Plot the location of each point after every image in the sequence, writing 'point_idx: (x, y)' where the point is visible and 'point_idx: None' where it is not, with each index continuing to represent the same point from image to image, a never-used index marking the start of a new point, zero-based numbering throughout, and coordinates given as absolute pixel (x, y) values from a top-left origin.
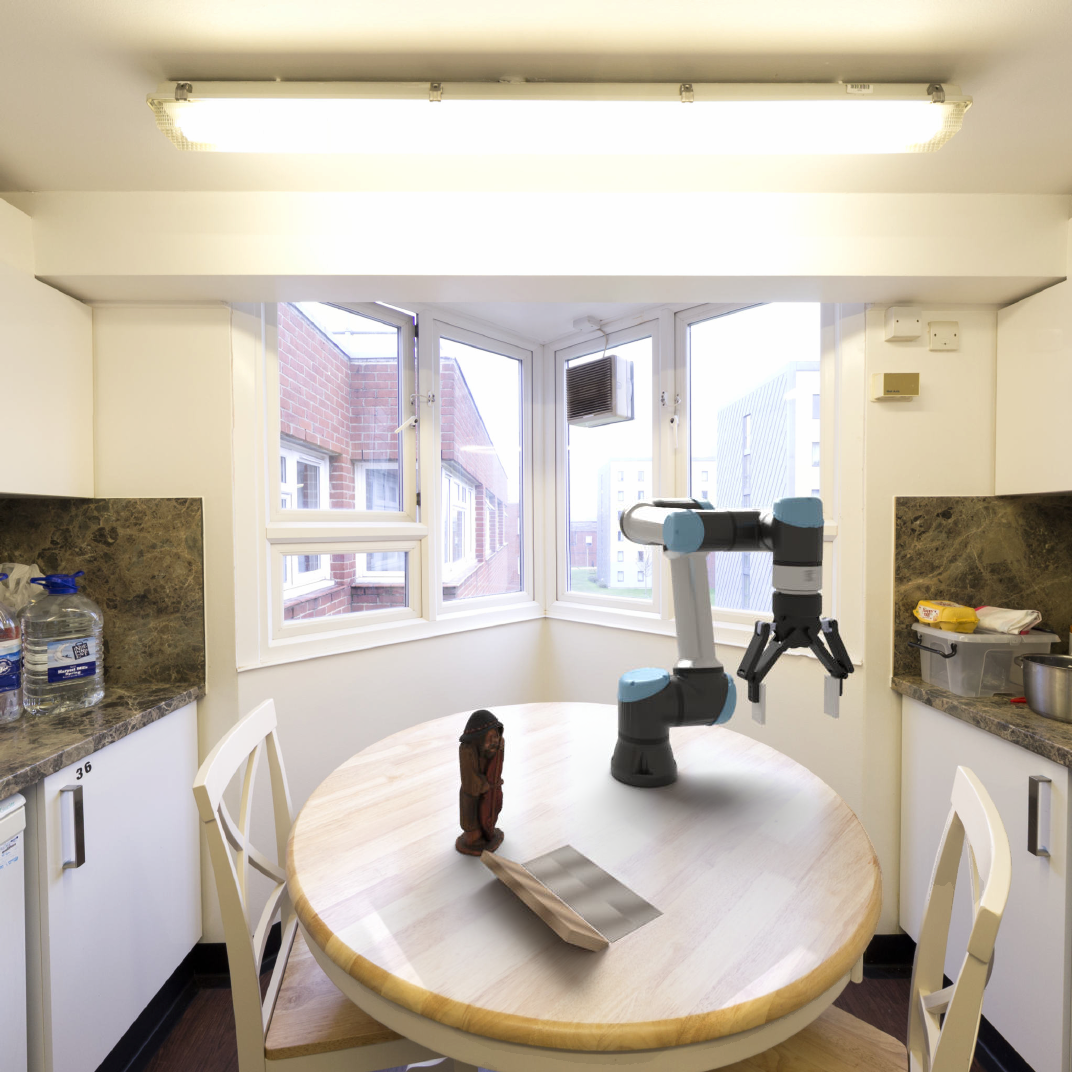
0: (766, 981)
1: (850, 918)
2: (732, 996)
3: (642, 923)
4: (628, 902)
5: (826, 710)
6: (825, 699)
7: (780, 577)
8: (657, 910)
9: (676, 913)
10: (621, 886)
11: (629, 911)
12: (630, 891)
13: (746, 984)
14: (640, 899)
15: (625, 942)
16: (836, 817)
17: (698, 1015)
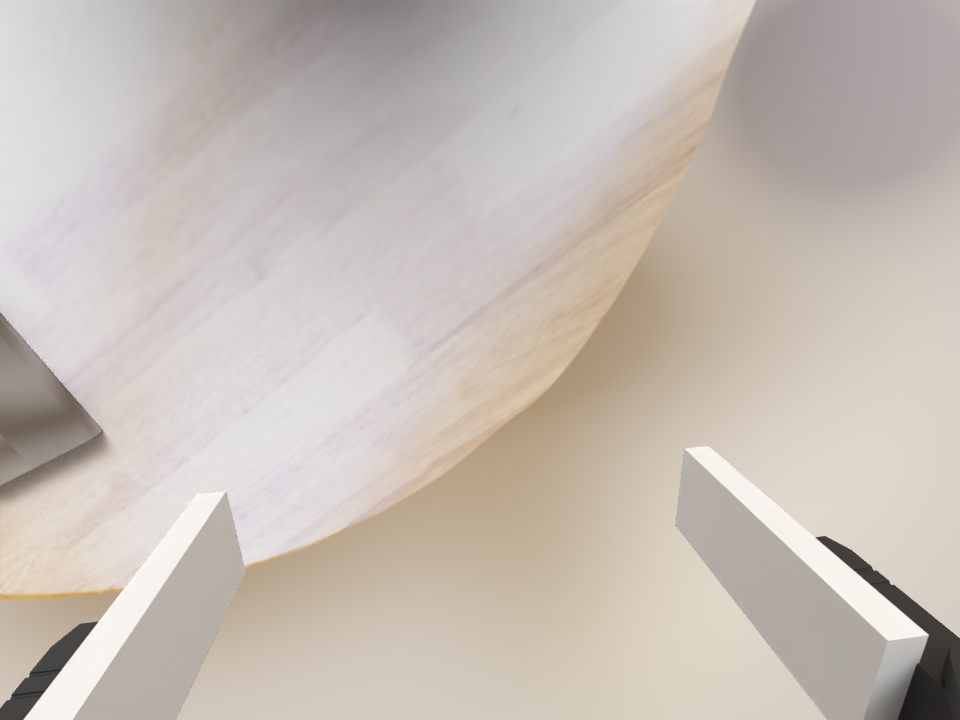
0: (245, 550)
1: (452, 453)
2: None
3: (43, 460)
4: (17, 403)
5: (693, 477)
6: (732, 507)
7: None
8: (80, 431)
9: (136, 409)
10: (3, 355)
11: (17, 428)
12: (24, 373)
13: None
14: (45, 399)
15: None
16: (678, 127)
17: None
